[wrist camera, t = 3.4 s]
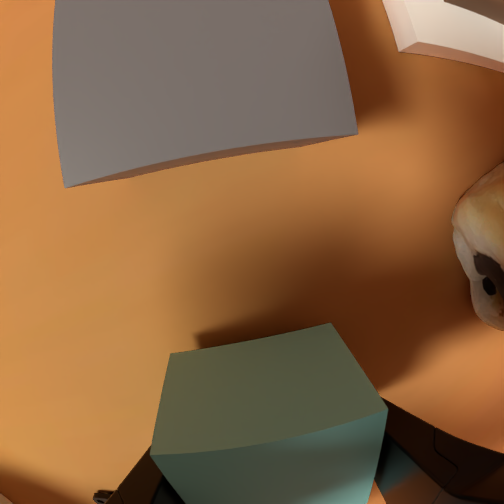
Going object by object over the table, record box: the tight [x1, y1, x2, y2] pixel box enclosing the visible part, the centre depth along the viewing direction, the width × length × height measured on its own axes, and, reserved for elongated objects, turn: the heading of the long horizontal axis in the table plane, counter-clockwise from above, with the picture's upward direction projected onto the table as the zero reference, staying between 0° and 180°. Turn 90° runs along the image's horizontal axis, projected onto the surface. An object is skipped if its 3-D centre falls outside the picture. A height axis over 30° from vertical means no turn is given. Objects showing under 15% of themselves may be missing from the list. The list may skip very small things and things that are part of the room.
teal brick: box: [150, 323, 388, 504], centre depth 8 cm, size 5×5×4 cm
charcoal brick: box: [52, 0, 358, 188], centre depth 6 cm, size 5×5×4 cm
